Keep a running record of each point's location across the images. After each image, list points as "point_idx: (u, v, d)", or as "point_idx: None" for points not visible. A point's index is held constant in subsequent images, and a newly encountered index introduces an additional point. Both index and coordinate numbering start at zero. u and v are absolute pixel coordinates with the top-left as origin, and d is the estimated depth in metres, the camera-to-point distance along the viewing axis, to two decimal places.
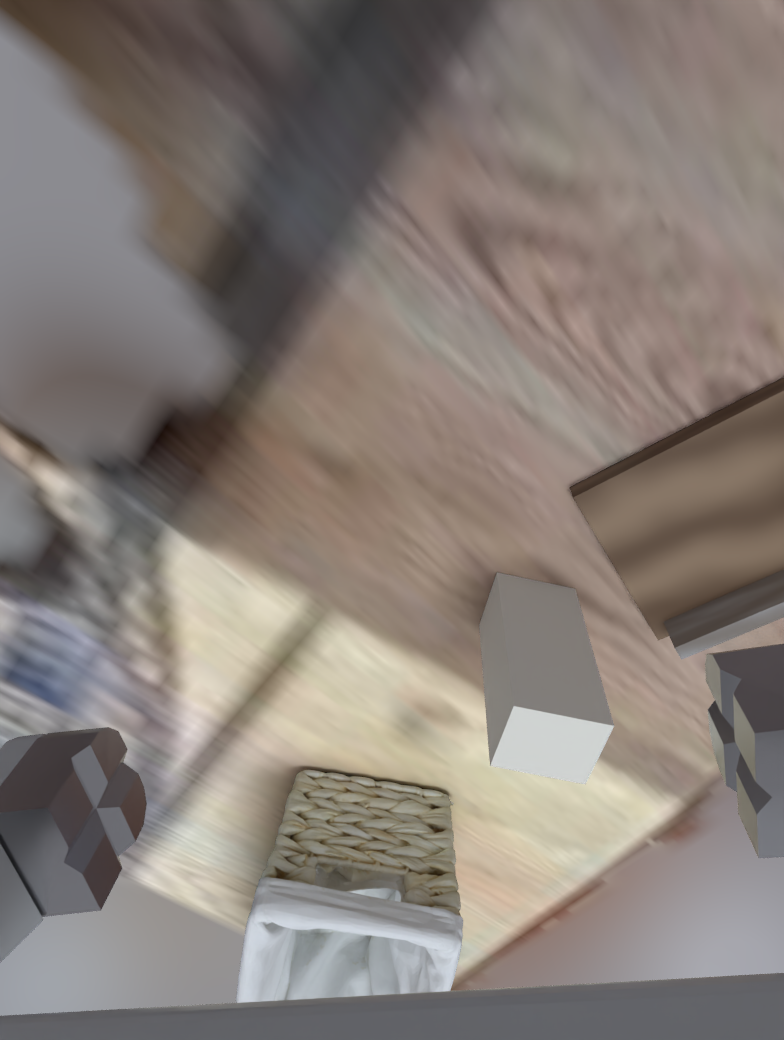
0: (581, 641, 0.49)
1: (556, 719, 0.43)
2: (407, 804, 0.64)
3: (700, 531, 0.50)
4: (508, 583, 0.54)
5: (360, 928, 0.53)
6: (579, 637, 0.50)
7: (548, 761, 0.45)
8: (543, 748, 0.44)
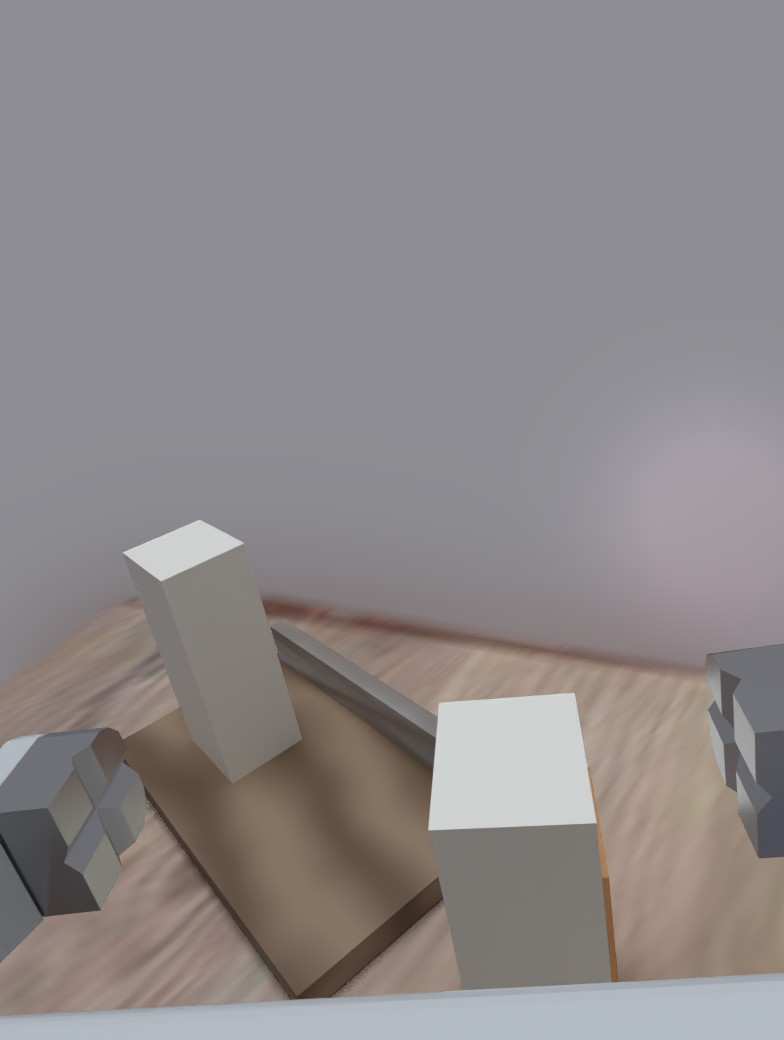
0: None
1: (444, 766, 0.25)
2: None
3: (344, 825, 0.40)
4: None
5: None
6: None
7: (544, 747, 0.25)
8: (516, 762, 0.24)
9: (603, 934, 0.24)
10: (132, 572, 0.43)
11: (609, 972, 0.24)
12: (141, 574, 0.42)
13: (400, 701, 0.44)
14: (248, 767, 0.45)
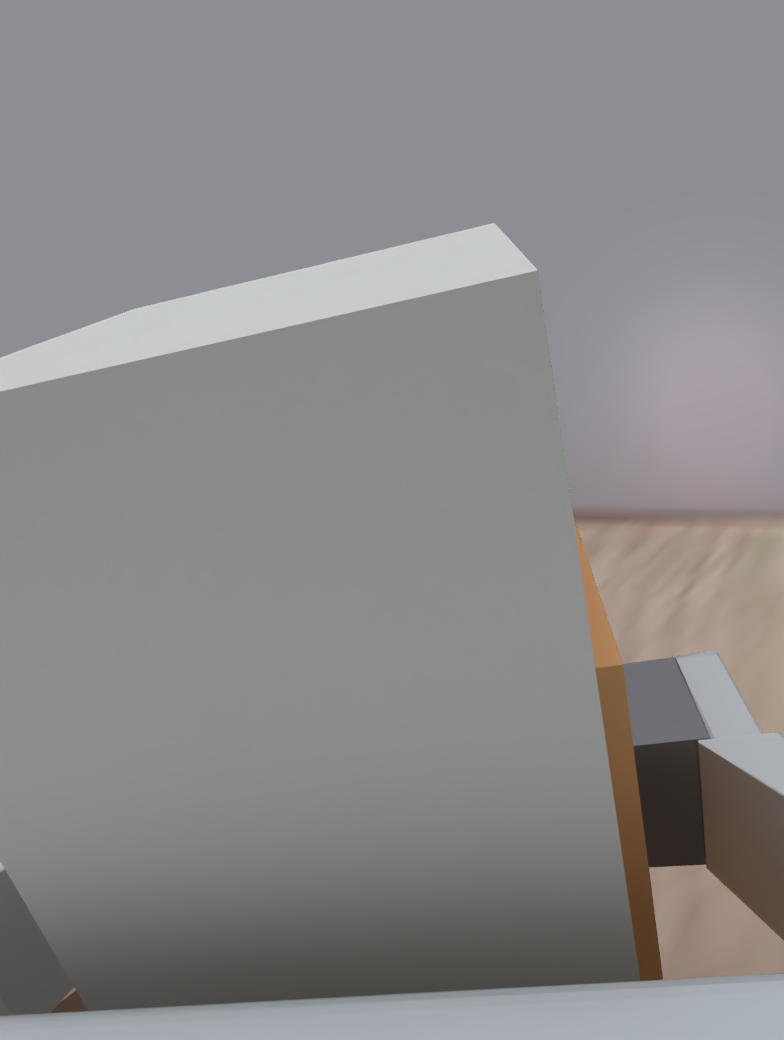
0: None
1: (27, 352, 0.07)
2: None
3: None
4: None
5: None
6: None
7: (373, 266, 0.07)
8: (262, 296, 0.07)
9: (614, 909, 0.06)
10: None
11: None
12: None
13: None
14: None
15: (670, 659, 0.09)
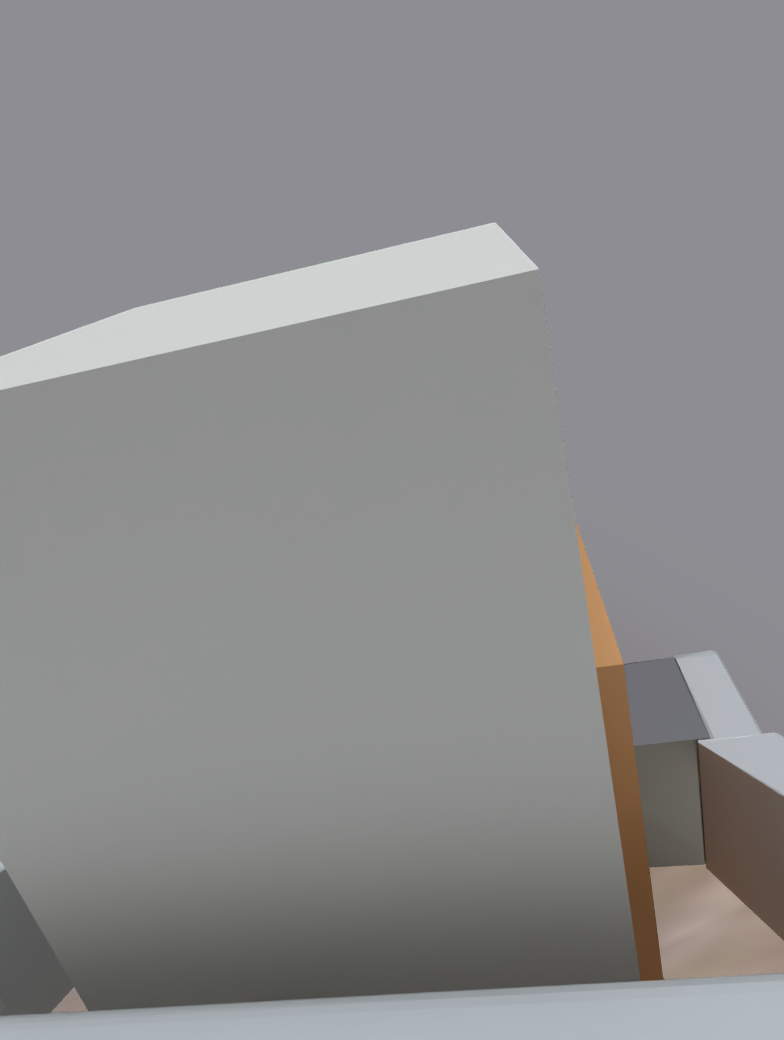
0: None
1: (28, 351, 0.07)
2: None
3: None
4: None
5: None
6: None
7: (374, 265, 0.07)
8: (264, 296, 0.07)
9: (615, 909, 0.06)
10: None
11: None
12: None
13: None
14: None
15: (670, 659, 0.09)
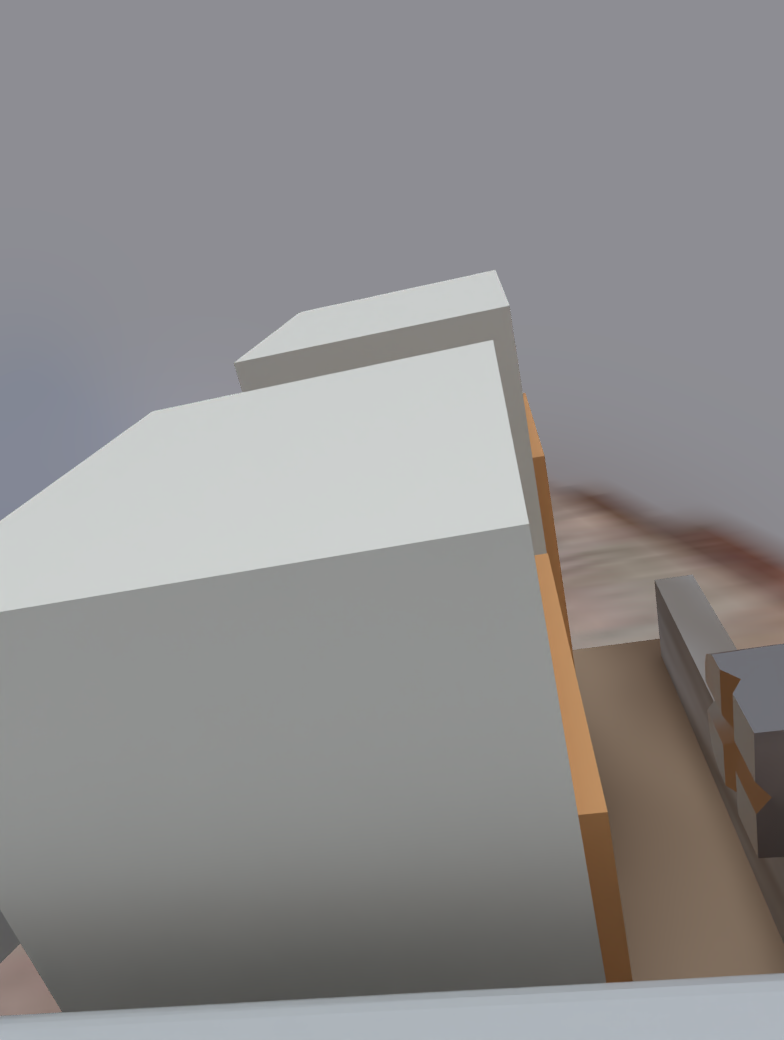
0: None
1: (62, 493, 0.08)
2: None
3: None
4: None
5: None
6: None
7: (380, 414, 0.08)
8: (280, 450, 0.07)
9: None
10: None
11: None
12: None
13: None
14: None
15: None
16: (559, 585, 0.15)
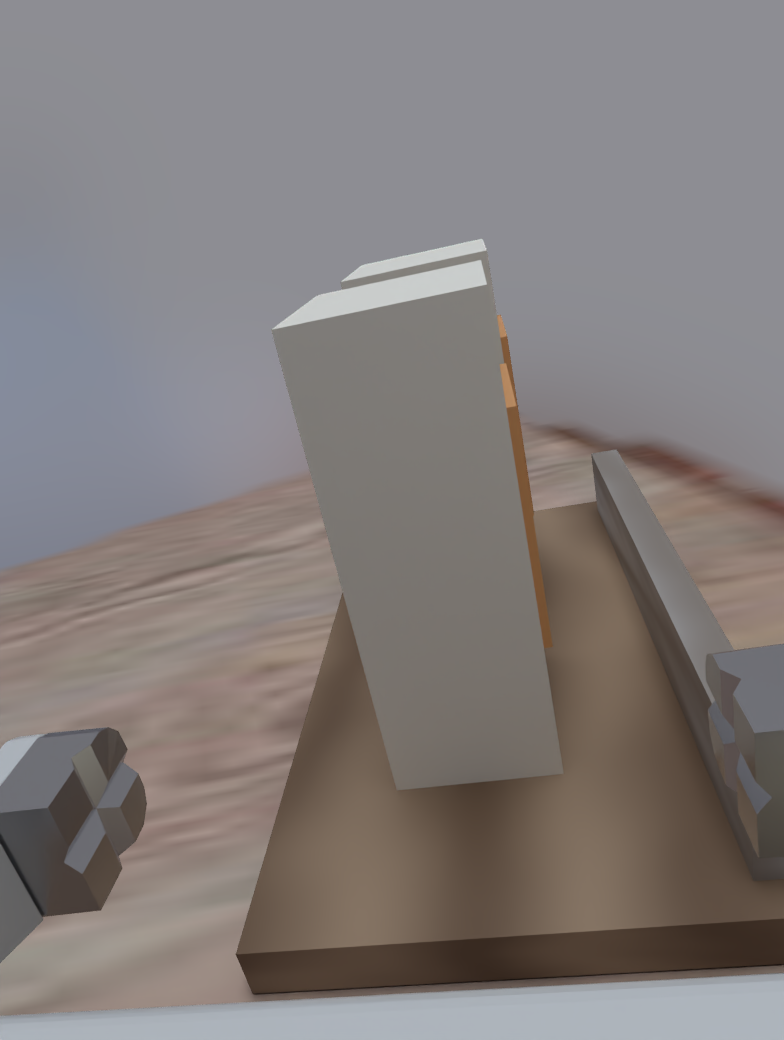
0: None
1: (308, 309, 0.19)
2: None
3: None
4: None
5: None
6: None
7: (435, 279, 0.19)
8: (397, 290, 0.19)
9: (513, 486, 0.18)
10: None
11: (527, 553, 0.19)
12: None
13: (689, 603, 0.23)
14: None
15: None
16: None
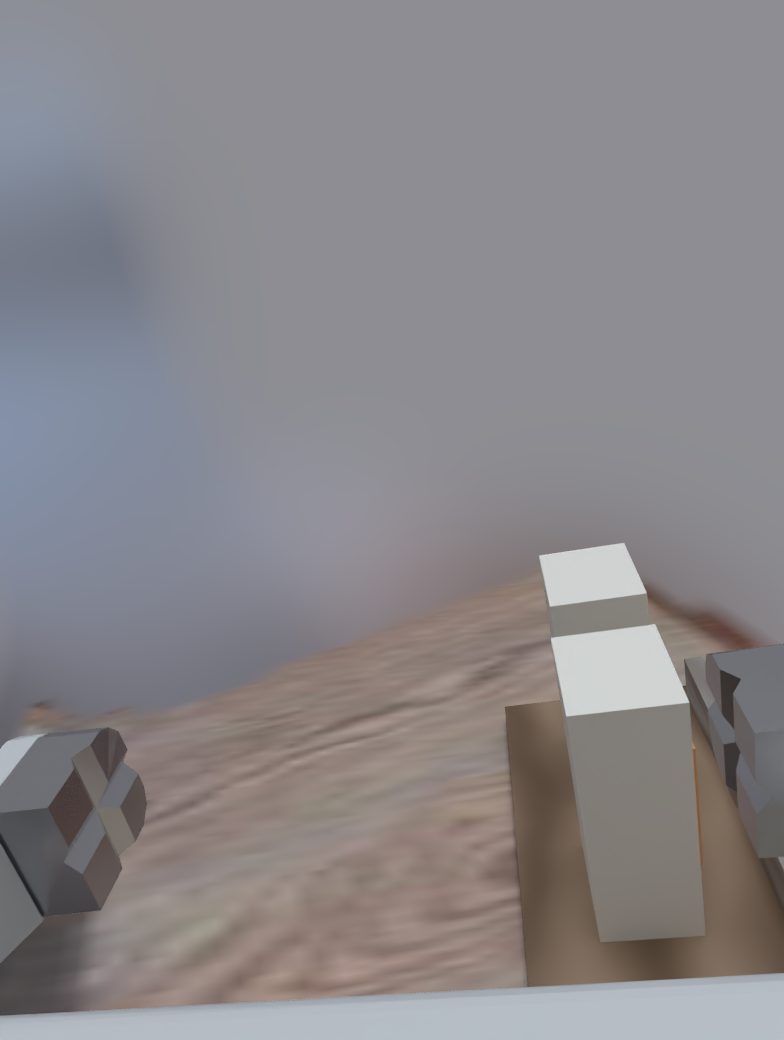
0: (570, 764, 0.39)
1: (567, 677, 0.34)
2: None
3: None
4: None
5: None
6: (571, 771, 0.39)
7: (640, 660, 0.34)
8: (621, 671, 0.33)
9: (692, 792, 0.32)
10: (542, 576, 0.45)
11: (696, 823, 0.33)
12: (544, 585, 0.43)
13: None
14: None
15: None
16: None
